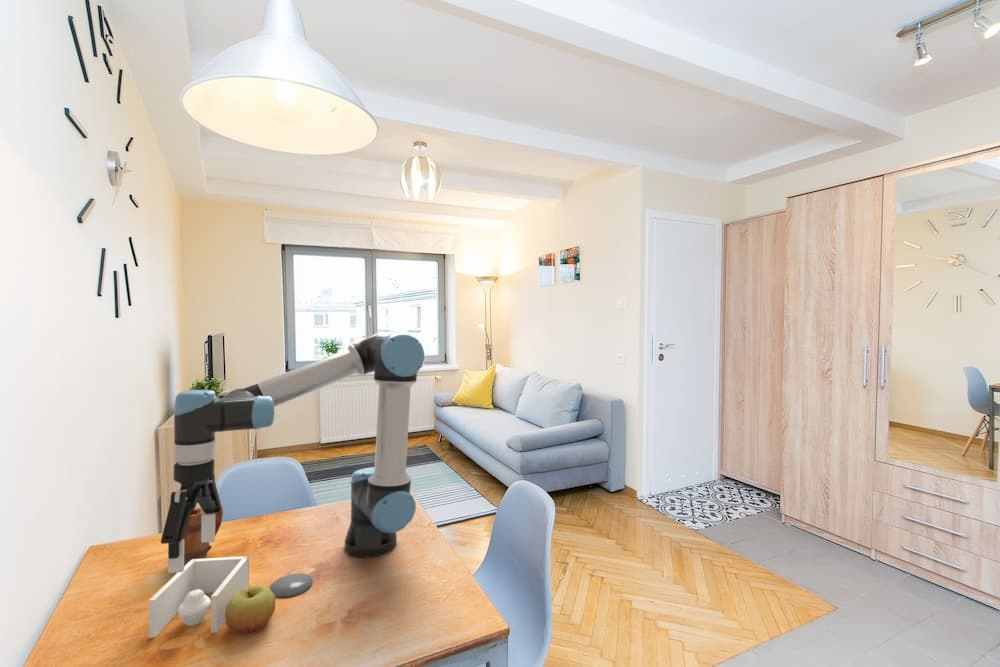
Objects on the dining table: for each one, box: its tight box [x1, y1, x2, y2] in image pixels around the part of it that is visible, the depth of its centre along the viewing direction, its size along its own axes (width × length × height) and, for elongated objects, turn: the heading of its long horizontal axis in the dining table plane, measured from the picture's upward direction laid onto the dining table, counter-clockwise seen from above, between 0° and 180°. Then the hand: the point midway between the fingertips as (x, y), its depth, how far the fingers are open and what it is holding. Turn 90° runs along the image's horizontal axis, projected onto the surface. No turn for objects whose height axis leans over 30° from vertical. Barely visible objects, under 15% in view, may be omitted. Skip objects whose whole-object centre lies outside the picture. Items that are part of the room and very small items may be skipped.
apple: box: [225, 584, 276, 634], centre depth 101 cm, size 10×10×8 cm
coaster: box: [268, 572, 313, 599], centre depth 117 cm, size 10×10×1 cm
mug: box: [182, 501, 224, 566], centre depth 130 cm, size 15×8×15 cm, turn 168°
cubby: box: [148, 555, 250, 639], centre depth 106 cm, size 13×17×8 cm
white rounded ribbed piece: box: [177, 589, 211, 627], centre depth 102 cm, size 6×6×7 cm
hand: (193, 555), depth 102 cm, fingers open, 13 cm apart
